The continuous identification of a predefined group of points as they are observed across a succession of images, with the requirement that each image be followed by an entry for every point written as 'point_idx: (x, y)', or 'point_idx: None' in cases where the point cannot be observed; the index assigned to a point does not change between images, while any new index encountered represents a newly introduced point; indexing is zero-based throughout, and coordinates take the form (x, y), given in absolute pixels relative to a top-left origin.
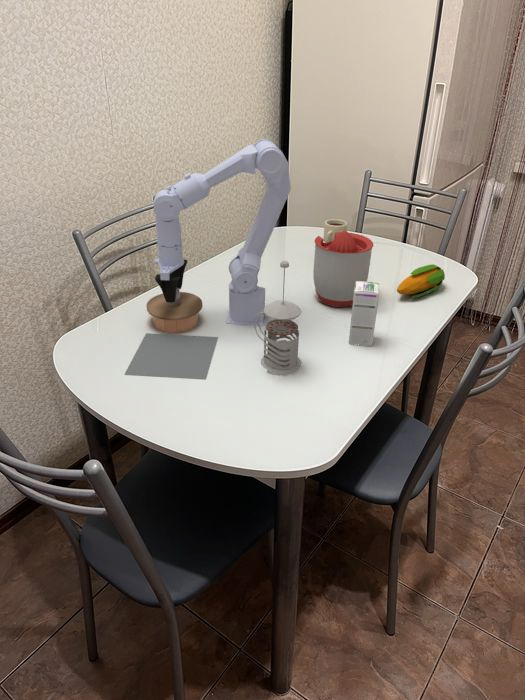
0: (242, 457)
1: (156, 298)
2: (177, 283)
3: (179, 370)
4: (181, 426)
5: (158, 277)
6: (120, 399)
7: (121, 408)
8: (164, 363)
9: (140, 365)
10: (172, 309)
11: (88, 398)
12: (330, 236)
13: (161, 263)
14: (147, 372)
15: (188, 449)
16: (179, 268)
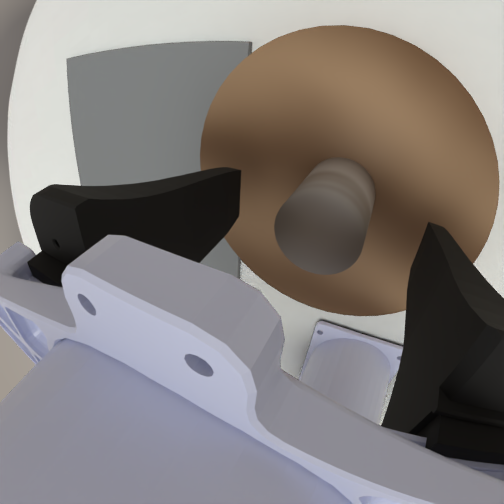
0: (27, 245)
1: (425, 85)
2: (417, 275)
3: (95, 176)
4: (26, 185)
5: (41, 223)
6: (32, 81)
7: (23, 92)
8: (106, 139)
9: (92, 81)
10: (274, 177)
11: (29, 28)
12: None
13: (54, 348)
14: (77, 107)
15: (13, 194)
16: (401, 397)
